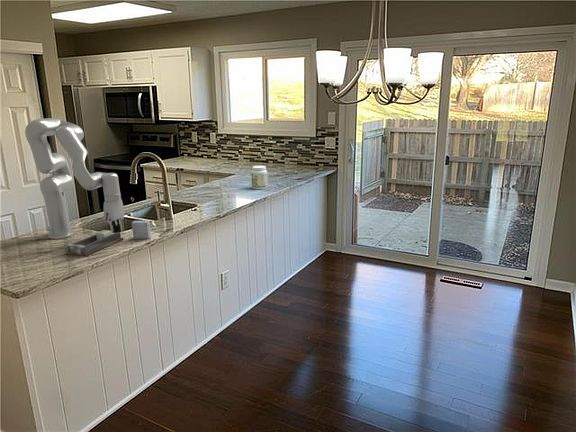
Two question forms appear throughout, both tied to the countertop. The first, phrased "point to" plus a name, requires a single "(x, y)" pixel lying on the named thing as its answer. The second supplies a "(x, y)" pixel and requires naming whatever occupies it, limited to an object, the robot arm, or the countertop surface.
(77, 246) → the chute
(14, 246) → the countertop surface
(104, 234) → the block
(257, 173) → the supplement tub
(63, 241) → the countertop surface
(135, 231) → the medicine box
